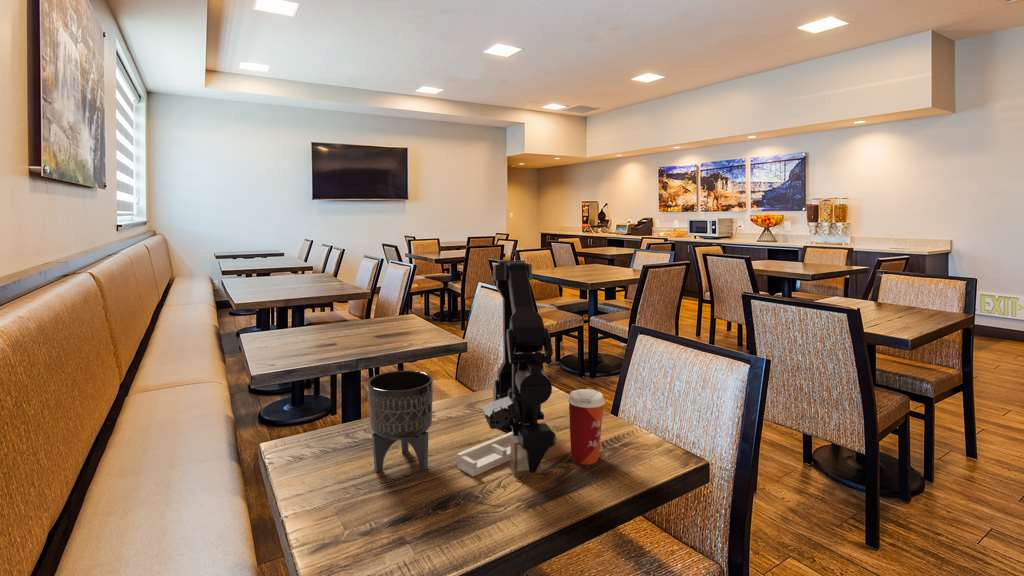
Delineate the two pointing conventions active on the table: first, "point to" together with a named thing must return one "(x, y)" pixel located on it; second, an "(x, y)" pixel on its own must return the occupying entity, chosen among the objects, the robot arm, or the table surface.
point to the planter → (400, 413)
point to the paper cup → (585, 425)
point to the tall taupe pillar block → (520, 459)
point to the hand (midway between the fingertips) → (525, 461)
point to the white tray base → (485, 455)
